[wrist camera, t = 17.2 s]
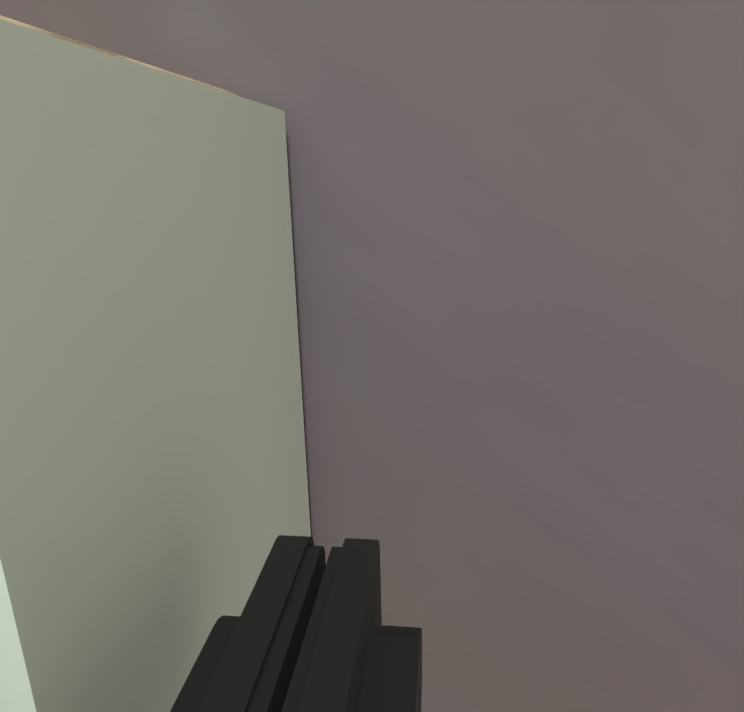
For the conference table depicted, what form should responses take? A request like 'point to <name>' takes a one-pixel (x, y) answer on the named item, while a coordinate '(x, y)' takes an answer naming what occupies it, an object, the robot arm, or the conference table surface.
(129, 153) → the mint green drawer
